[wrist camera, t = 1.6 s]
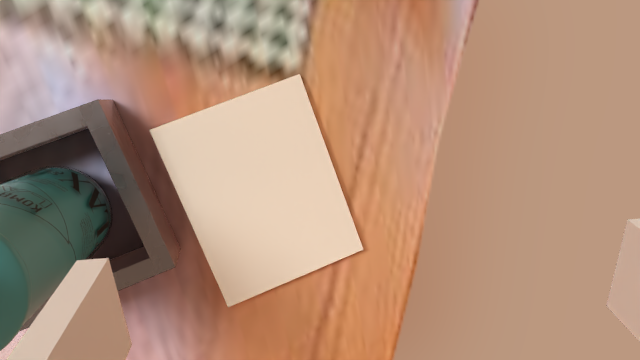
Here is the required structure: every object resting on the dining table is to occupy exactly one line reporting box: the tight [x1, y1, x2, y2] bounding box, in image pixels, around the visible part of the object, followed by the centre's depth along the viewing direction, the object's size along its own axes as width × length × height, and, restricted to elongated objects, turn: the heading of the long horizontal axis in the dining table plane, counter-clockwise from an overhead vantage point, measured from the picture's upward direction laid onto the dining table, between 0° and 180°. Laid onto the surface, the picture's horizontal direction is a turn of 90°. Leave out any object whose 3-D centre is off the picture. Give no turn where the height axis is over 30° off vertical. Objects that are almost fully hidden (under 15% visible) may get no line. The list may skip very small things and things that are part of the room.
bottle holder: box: [0, 100, 181, 331], centre depth 31 cm, size 11×11×4 cm
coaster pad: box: [149, 74, 363, 307], centre depth 35 cm, size 14×11×1 cm
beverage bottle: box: [0, 166, 112, 351], centre depth 23 cm, size 6×7×20 cm
